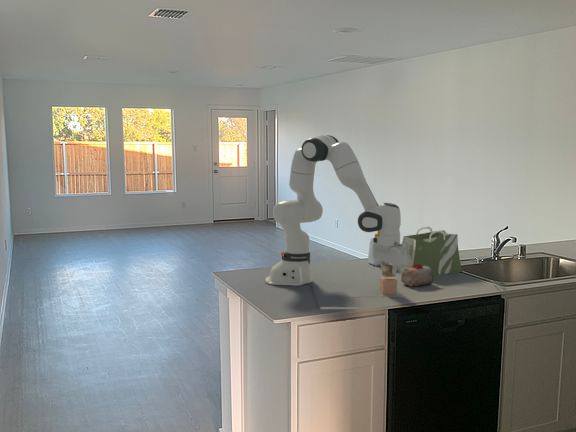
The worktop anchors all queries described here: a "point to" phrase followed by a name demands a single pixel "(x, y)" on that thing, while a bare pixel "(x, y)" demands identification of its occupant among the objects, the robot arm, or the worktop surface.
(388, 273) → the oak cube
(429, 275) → the food item
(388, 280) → the base block
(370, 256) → the soap bottle
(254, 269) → the worktop surface
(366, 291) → the baseplate
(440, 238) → the grocery bag
